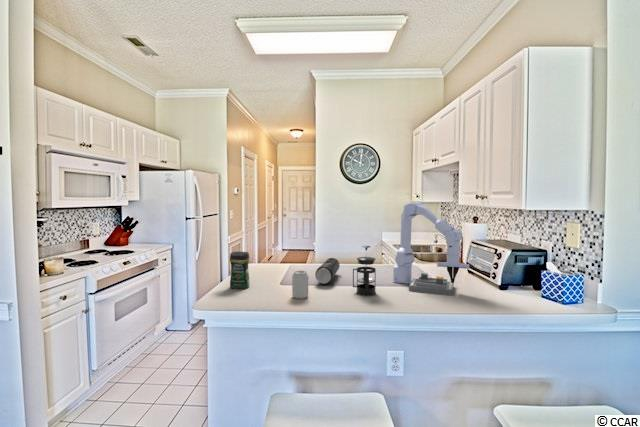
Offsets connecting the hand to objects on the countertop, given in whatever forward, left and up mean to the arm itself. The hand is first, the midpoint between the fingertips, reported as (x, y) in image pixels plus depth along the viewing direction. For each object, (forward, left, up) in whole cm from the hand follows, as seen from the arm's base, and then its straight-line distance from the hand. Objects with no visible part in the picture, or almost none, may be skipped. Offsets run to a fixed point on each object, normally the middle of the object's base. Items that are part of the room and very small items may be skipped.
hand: (452, 282), depth 171 cm
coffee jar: (-101, -32, -5) cm, 106 cm away
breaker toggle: (-6, 0, -2) cm, 6 cm away
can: (-65, -35, -5) cm, 74 cm away
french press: (-39, -17, -5) cm, 43 cm away
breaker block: (-10, +3, -5) cm, 12 cm away
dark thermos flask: (-65, 0, -5) cm, 65 cm away
